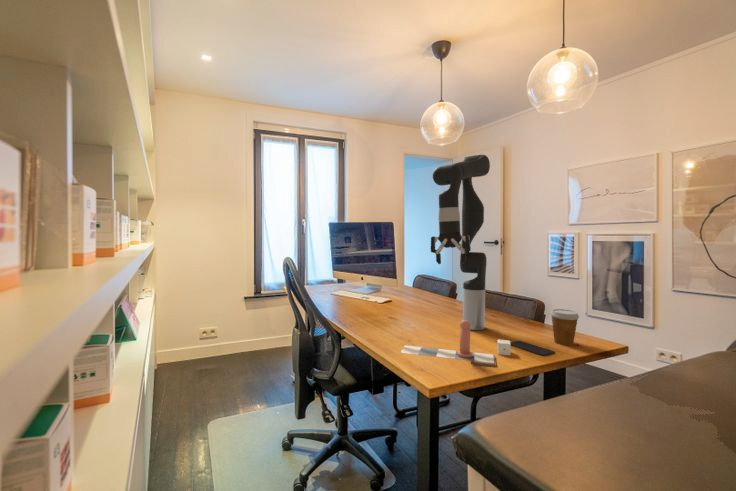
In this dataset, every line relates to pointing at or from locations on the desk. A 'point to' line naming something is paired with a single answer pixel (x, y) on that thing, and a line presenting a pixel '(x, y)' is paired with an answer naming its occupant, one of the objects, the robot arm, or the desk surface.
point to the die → (504, 347)
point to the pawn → (464, 340)
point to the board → (451, 355)
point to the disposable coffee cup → (564, 325)
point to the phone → (532, 348)
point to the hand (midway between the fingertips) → (450, 263)
